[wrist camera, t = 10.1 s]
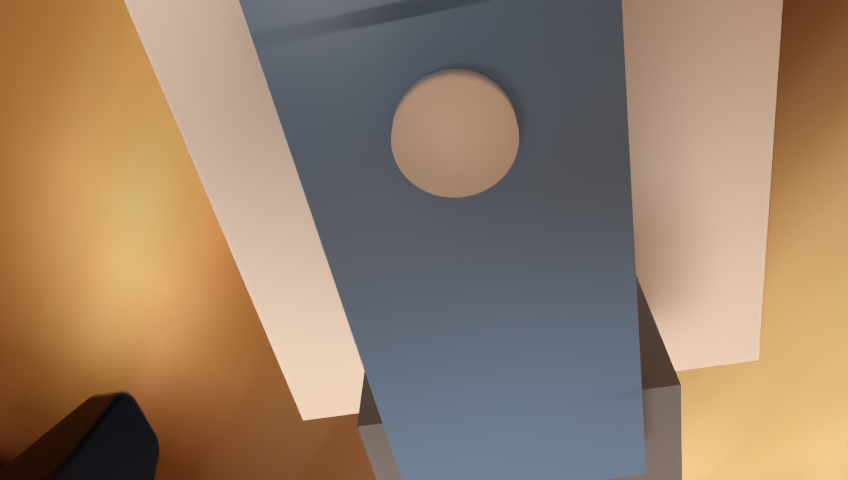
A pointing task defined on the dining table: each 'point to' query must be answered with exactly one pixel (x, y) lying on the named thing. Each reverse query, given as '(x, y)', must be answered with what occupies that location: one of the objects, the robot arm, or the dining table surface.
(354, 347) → the plate
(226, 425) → the dining table surface
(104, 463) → the robot arm
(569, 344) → the block
